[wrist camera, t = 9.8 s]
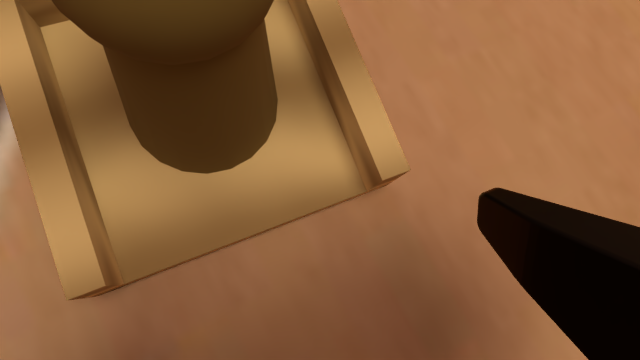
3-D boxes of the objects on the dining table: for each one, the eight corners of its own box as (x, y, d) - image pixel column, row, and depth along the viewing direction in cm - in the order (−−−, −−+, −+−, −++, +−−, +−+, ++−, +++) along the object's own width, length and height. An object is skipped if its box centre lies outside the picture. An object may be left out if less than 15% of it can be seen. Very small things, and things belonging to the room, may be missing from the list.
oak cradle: (386, 185, 20) (432, 156, 15) (97, 295, 17) (37, 304, 12) (288, -47, 21) (300, -142, 16) (10, 19, 19) (-74, -70, 14)
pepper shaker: (93, 88, 18) (-137, -191, 7) (216, 8, 19) (177, -320, 9) (190, 204, 17) (101, 94, 7) (307, 114, 19) (385, -93, 8)
